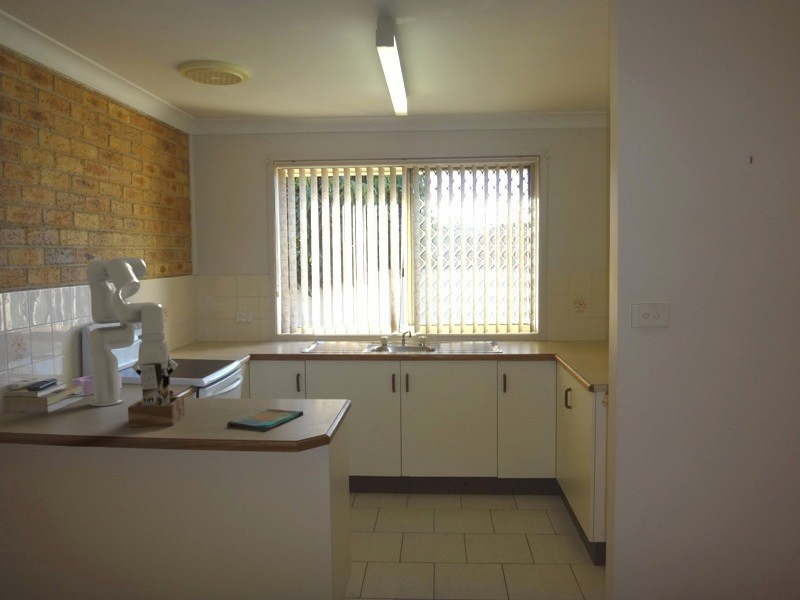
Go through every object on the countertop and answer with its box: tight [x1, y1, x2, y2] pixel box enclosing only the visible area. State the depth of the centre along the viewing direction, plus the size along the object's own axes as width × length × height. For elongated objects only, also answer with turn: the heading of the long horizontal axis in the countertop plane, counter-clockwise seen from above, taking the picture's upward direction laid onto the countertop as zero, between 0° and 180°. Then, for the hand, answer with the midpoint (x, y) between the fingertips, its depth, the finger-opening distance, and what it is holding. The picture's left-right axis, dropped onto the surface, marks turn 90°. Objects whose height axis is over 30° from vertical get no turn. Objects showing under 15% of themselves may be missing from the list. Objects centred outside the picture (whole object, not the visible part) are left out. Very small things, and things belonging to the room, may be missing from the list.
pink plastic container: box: [71, 373, 123, 394], centre depth 281 cm, size 20×12×7 cm, turn 145°
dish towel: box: [226, 408, 304, 432], centre depth 219 cm, size 17×23×2 cm
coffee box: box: [141, 363, 170, 406], centre depth 223 cm, size 9×6×16 cm
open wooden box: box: [127, 396, 186, 428], centre depth 223 cm, size 15×15×7 cm
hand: (156, 386), depth 223 cm, fingers closed on coffee box, 6 cm apart
